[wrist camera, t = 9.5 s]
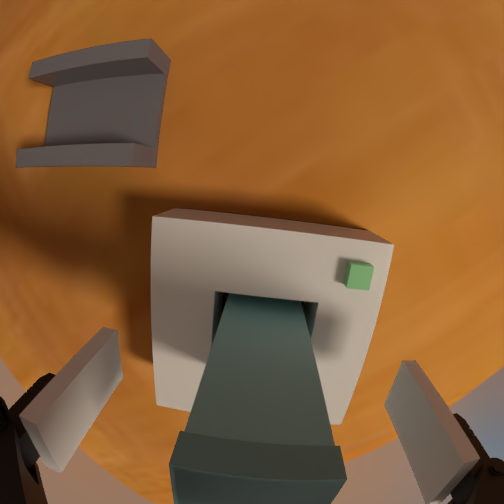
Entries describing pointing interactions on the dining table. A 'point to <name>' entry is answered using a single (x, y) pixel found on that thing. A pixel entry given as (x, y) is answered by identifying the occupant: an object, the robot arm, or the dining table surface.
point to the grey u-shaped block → (102, 106)
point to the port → (262, 292)
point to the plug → (258, 415)
